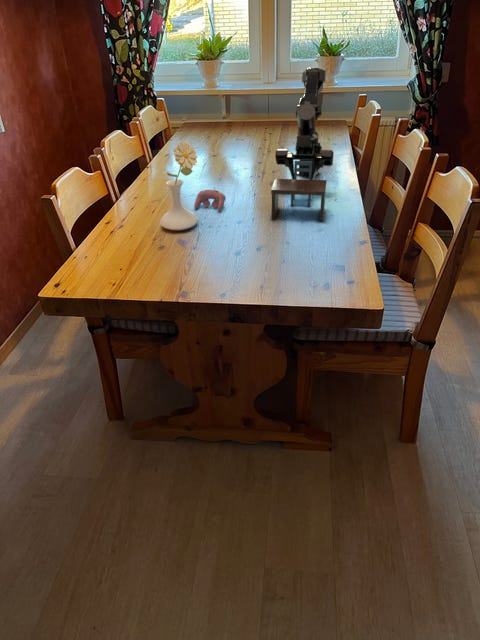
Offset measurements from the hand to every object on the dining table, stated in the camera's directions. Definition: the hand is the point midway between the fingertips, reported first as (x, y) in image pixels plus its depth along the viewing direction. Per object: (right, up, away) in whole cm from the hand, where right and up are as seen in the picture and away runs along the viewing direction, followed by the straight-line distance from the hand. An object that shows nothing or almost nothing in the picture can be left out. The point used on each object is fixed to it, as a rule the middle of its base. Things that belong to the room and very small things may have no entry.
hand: (302, 181), depth 162 cm
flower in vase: (-38, -16, -9) cm, 43 cm away
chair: (0, -7, +3) cm, 7 cm away
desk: (-2, -12, -5) cm, 14 cm away
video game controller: (-30, -9, +2) cm, 31 cm away
